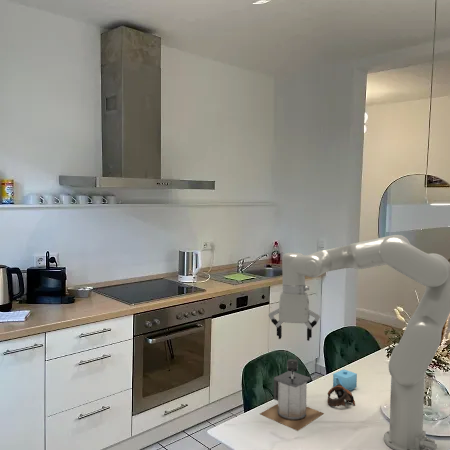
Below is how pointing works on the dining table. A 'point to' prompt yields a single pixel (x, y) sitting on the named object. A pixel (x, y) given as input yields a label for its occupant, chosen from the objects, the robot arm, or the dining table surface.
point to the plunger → (292, 366)
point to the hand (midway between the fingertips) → (294, 338)
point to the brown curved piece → (340, 396)
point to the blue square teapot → (345, 379)
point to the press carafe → (291, 395)
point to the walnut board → (296, 425)
